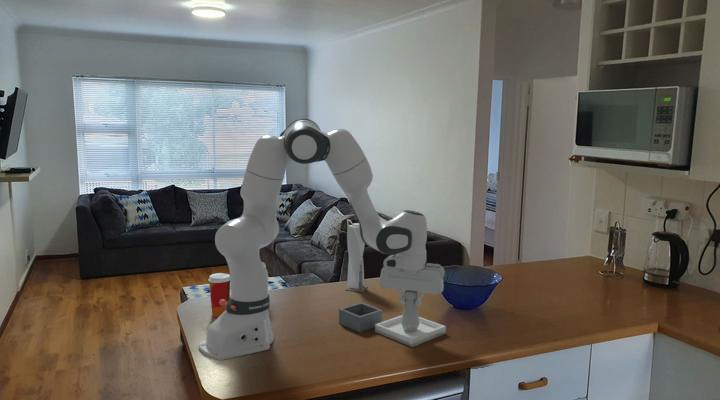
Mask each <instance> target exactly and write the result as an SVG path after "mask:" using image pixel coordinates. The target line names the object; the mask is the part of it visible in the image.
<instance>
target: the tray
mask: <svg viewBox="0 0 720 400" xmlns="http://www.w3.org/2000/svg"><path fill="white" fill-rule="evenodd" d="M402 316H403V314H401V315H398V316H395V317H393V318H388V319H387V320H384V321H383V320H382V322H380V323H378V324H375V327H374V333H378V334H380V335H382V336H385V337H386V338H388V339H391V340H394V341H396V342H399V343H400V344H403V345H406V346H409V347H411V348H413V347H416V346H418V345H421V344H423V343H425V342H428V341H431V340H433V339H436V338H438V337H441V336H443V335H445V334H446V331H447V329H446V327H447V326H446V325H443V324H440V323H438V322H435V321H433V320H429V319H426V318H424V317H421V316H419V315H418V317H419V326H418V328H417V330H416V331H414V332H407V331H405V330H404V329H403V327H402V323H401V321H402Z"/></svg>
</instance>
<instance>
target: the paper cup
mask: <svg viewBox="0 0 720 400" xmlns="http://www.w3.org/2000/svg"><path fill="white" fill-rule="evenodd" d="M207 281H208V282H209V283H208V284H209V293H210V305H211V306H210V307H211V315H212V316H213V317H214V318H216V319H217V318H218V317H219V316H220V315H221V314H222V313H223V312H224V311H225V310H226V307H223V306H221V305H220V303H219V301H220V300H221V299H224V300H226V301H227V302H228V301H229V299H230V296H231V279H230V273H224V272H218V273H217V272H216V273H212V274H211V275H209V277H208V279H207Z"/></svg>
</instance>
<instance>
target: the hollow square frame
mask: <svg viewBox="0 0 720 400" xmlns="http://www.w3.org/2000/svg"><path fill="white" fill-rule="evenodd" d="M380 322H383V310H382V309H380V308H378V307H376V306H372V305H370V304H367V303H364V302H358V303H354V304H352V305H349V306H345V307H342V308H339V309H338V324H340V325H342V326H344V327H346V328H349V329H351V330H353V331H356V332H357V333H361V332H364V331H367V330H370V329H374V328H375V324H378V323H380Z"/></svg>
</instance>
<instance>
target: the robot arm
mask: <svg viewBox="0 0 720 400" xmlns="http://www.w3.org/2000/svg"><path fill="white" fill-rule="evenodd" d="M292 161H294V162H295V163H297V164H302V165H306V164H307V165H308V164H313V163H317V162H318V163H319V162H325V163H326V164H327V166H328V168H329V170H330V172H331V174H332V176H333V177H334V179H335V181H336V182H337V184H338V186H339V188H340V189H341V190H342V192H343V193H344V195H346V197H347V200H348V202H349V204H350V205H351V208H352V209H353V212H354V214H355V216H356V218H357V220H358V223H359V226H360V236H361V239H362V241H363V242H364V243H365V246H366V247H367V246H368V247H369V248H372V249H374V250H376V251H378V252H380V253H382V254H383V255H386V256H387V255H388V256H387V257H386V258H385V259H384V260H383V262H382V263H383V267H382V268H381V271H380V277H379V285H380V286H381V287H382V288H386V289H391V290H392V289H393V290H397V294H398V296H399V298H400V304H401V303H402V304H405V302H406V298H405V297H404V293H403V292H404V291H406V290H408V291H416V292H417V293H418V296H419V297H417V298H416V300H415V302H416V303H415V305H417V306H421V304H422V298H423V297H424V296H425V293H427V294H433V295H440V294H441V293H443V291H444V277H445V271H446V270H445V268H444V267H443V266H442V265H441V264H440V263H432V262H431V263H430V262H427V249H426V243H427V241H428V240H427V239H428V225H427V219H426V216H425V215H424V214H423V213H421V212H419V211H415V210H408V209H407V210H401V212H400V213H399V215H397V216H395V217H394V218H392V219H389V220H385V219H384V218H383V217H381V216H380V215H379V214H378V213H377V211H376V209H375V206H374V204H373V202H372V200H371V198H370V195H369V192H368V188H369V187H370V186H371V183H372V182H373V178H374V175H373V172H372V167H371V165H370V162H369V161H368V158H367V156H366V154H365V153H364V151H363V149H362V147H361V146H360V145H359V143H358V141H357V140H356V139H355V137H354V136H353V135H352V133H351V132H350V131H348V130H347V129H344V128H337V129H334V130H331V131H329V132H324V131H322V130H321V129H320V126H319V125H318V124H317V122H315V121H313V120H312V119H308V118H299V119H296V120H294V121H293V122H291V123H290V124H289V125H288V126H287V127H286V128H285V129H284V130H283V131H282V132H281V133H280V134H279V136H275V135H263V136H260V137H259V138H258V139H257V141H256V142H255V144H254V146H253V148H252V151H251V153H250V156H249V158H248V162H247V165H246V168H245V173H244V176H243V180H242V184H241V188H240V192H239V193H240V197H241V198H242V200H243V212H242V214H241V215H240V217H237V218H233V219H231V220H228V221H227V222H226V223H224V224H223V225H222V226H221V227H219V228H218V229H217V230H216V233H215V235H214V236H215V237H214V242H215V243H214V244H215V247H216V249H217V251H218V252H219V253H220V254H221V255H222V256H224V258H225V260H226V263H227V267H228V270H229V275H230V279H231V280H230V299H229V301H228V302H227V301H226V300H224V299H221V300H220V301H219V303H220V305H221V306H223V307H226V310H225V311H224V312H223V313H222V314H221V315H220V316H219V317H218V318H217V317H216V319H214V320H213V322H212V323H211V324H210V325H209V326H208V328H207V331H206V339H205V340H202V341H200V342H199V343H198V350H199V351H200V352H201V353H202V354H204V355H205V356H206V357H208V358H211V359H216V360H228V359H232V358H237V357H241V356H245V355H246V356H247V355H249V354H254V353H260V352H264V351H268V350H270V348H271V344H273V342H274V341H275V336H274V333H273V331H272V326H271V320H270V312H269V311H270V306H271V305H270V303H271V301H270V300H271V298H270V294H269V272H268V269H267V268H265V267H264V266H263V265H262V263H261V262H262V260H261V256H260V249H263V248H265V247H268V246H269V245H270V244H271V243H273V241H274V240H275V239H276V238H277V237H278V235H279V233H280V224H279V222H278V220H277V210H278V209H277V208H278V201H279V196H280V193H281V189H282V185H283V181H284V178H285V175H286V174H285V173H286V170H287V169H288V165H289V163H290V162H292Z"/></svg>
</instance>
